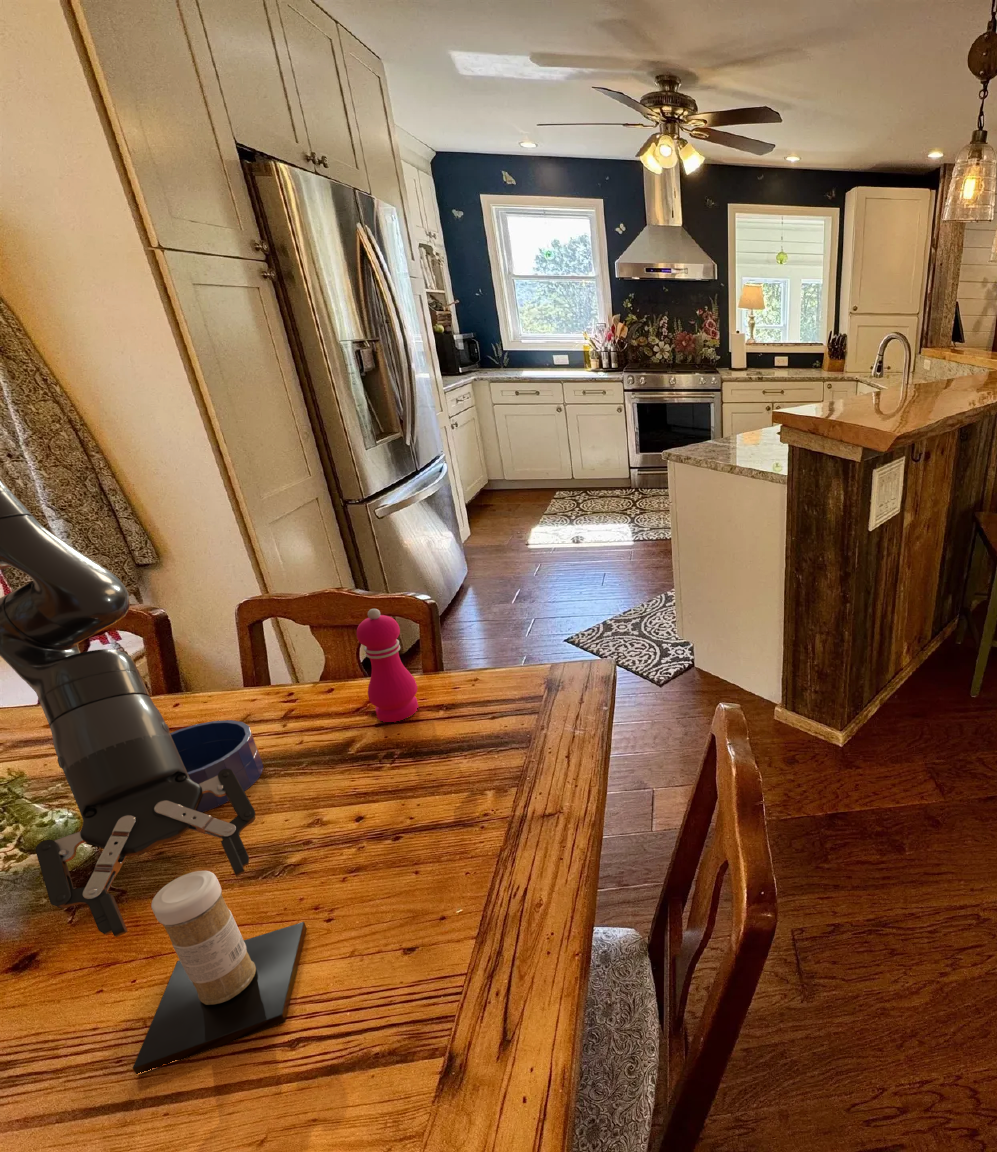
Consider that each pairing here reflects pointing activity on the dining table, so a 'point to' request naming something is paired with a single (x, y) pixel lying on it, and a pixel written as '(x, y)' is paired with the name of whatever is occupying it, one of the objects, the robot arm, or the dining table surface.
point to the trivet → (224, 1003)
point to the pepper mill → (387, 669)
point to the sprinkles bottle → (204, 936)
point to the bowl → (218, 755)
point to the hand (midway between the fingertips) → (183, 902)
